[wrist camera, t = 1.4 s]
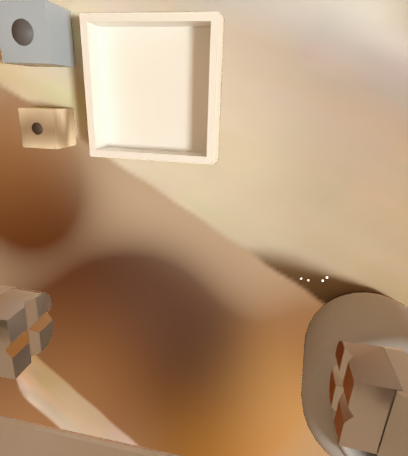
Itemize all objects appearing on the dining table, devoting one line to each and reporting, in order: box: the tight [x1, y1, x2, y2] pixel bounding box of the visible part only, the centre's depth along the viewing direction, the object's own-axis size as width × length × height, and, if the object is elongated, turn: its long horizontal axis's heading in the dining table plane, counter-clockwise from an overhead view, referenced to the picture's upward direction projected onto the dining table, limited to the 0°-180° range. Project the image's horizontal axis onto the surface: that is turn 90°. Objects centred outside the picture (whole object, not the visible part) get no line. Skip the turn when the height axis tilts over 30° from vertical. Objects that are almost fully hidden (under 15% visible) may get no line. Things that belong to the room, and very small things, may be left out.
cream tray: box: [79, 12, 224, 164], centre depth 41 cm, size 15×15×4 cm
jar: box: [300, 276, 408, 456], centre depth 36 cm, size 19×15×25 cm
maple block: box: [18, 107, 77, 149], centre depth 44 cm, size 4×4×5 cm
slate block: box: [0, 0, 75, 67], centre depth 41 cm, size 6×6×5 cm
